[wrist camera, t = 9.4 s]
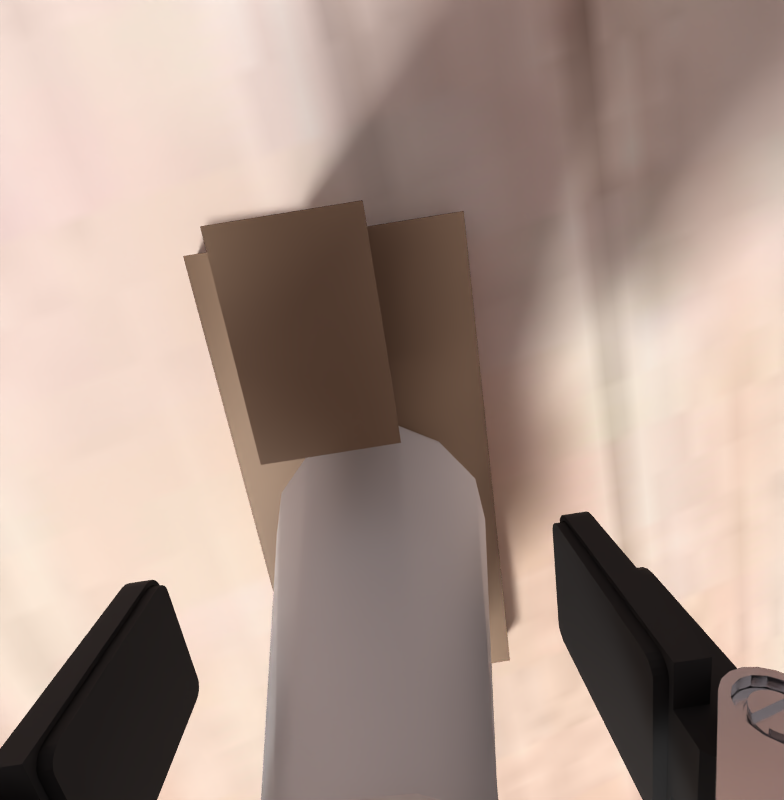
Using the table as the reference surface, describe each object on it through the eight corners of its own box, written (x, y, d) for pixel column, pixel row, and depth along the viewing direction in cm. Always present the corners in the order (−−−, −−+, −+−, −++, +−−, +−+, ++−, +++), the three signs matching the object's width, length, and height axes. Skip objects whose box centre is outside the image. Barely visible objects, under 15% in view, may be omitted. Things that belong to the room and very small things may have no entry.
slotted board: (457, 214, 14) (541, 171, 7) (503, 640, 19) (581, 871, 12) (195, 256, 14) (22, 255, 7) (304, 671, 19) (263, 920, 12)
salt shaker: (467, 397, 15) (910, 1071, 3) (469, 555, 17) (750, 1435, 4) (280, 410, 15) (-196, 1172, 2) (301, 567, 17) (79, 1503, 4)
